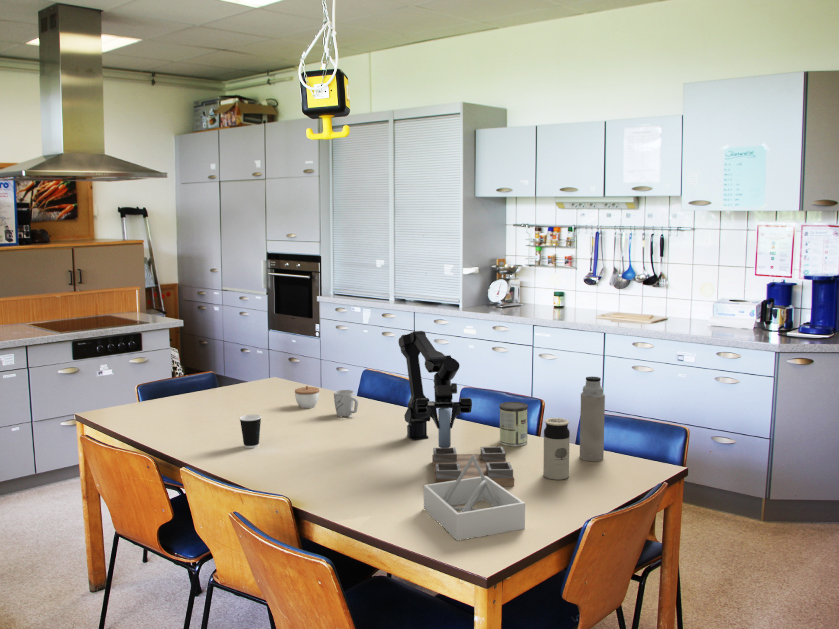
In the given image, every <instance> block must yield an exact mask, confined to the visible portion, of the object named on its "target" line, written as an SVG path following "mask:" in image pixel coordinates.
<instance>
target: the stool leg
mask: <svg viewBox="0 0 839 629" xmlns="http://www.w3.org/2000/svg"><path fill="white" fill-rule="evenodd" d="M437 409H438V410H437V416H438V422H439V429H438V448H452V447H451V445H452V443H451V440H452V439H451V438H452V437H451V436H452V435H451V431H452V430H451V429H452V428H451V414H452V408H437Z"/></svg>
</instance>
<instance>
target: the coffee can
mask: <svg viewBox="0 0 839 629" xmlns="http://www.w3.org/2000/svg"><path fill="white" fill-rule="evenodd" d="M528 409H529V405H528V404H527V403H525V402H520V401H507V402H501V403H499V443H500V444H501V445H503V446H506V447H523V446H525V445H527V444H528Z"/></svg>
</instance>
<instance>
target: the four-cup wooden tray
mask: <svg viewBox="0 0 839 629" xmlns="http://www.w3.org/2000/svg"><path fill="white" fill-rule="evenodd" d="M472 455H474V456H475V458H476V460H477V462H478V464H479V466H480V468H481V471H482V473H483V475H484V476H487V477H489V478H490V479H491V480H493V481H494V482H496V483H497V484H499V485H500V486H501V487H515V477H514V468H513V467H512V465H511V463H510V461H507V458H506V450H505V449H504V447H503V446H480V453H465V454H464V453H463V454H462V453H459V454H458V453H457V449H456V447H449V448H440V447H433V450H432V456H431V458H432V469H433V476H434V477H433V478H434V484H435V483H441V482H448V481H455V480H457V479H458V477H459V476H460V474H461V472H462V471H463V469H464V468H465V466H466V465H467V463H468V461H469V460H470V458H471V457H472ZM475 477H481V476H480V474H479V472H478V470H477V468H476V466H475V464H474V462H472V463H471V465H470V466H469V468H468V469H467V471H466V473H465V474H464V476H463V477H462V479H468V478H475Z"/></svg>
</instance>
